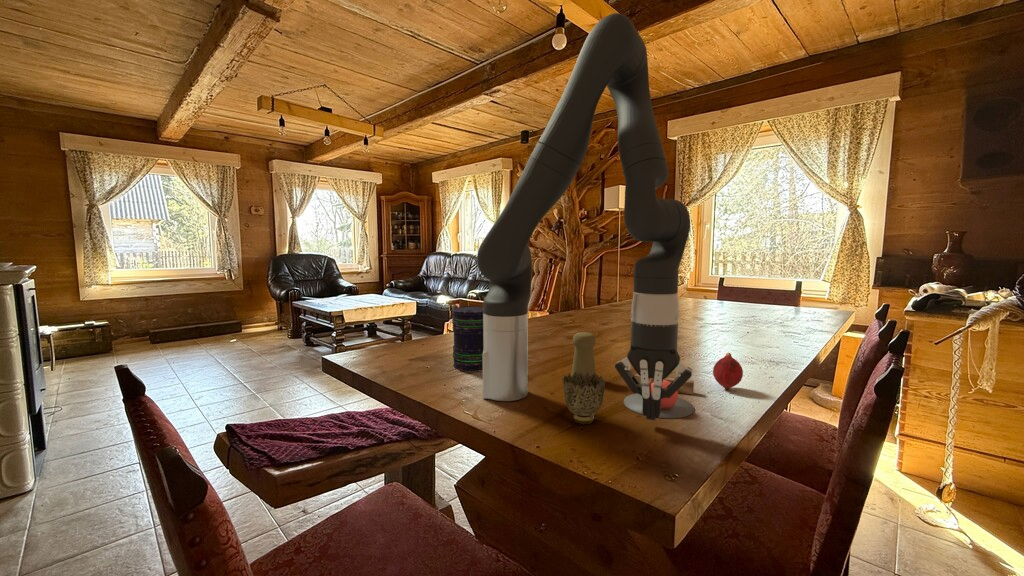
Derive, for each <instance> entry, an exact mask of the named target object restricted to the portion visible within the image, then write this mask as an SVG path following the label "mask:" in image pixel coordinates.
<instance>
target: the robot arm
mask: <svg viewBox="0 0 1024 576" xmlns="http://www.w3.org/2000/svg"><path fill="white" fill-rule="evenodd" d="M582 45H583V46H582V47H581V49H580V52H579V54H578V56H577V59H576V62H575V64H574V66H573V69H572V71H571V73H570V76H569V78H568V81H567V84H566V86H565V87H564V90H563V93H562V94H561V97H560V98H559V101H558V102H557V104H556V107H555V109H554V111H553V113H552V115H551V116H550V119H549V121H548V123H547V125H546V126H545V129H544V130H543V131H542V133H541V136H540V138H539V139H538V140H537V142H536V144H535V147H534V149H532V151H531V154H530V156H529V158H528V160H527V162H526V164H525V167H524V169H523V171H522V172H521V175H520V176H519V178H518V180H517V182H516V184H515V186H514V188H513V191H512V192H511V194H510V197H509V198H508V201H507V203H506V205H505V206H504V208H503V210H502V211H501V213H500V214H499V216H498V217H497V219H496V220H495V222H494V224H493V225H492V226H491V228H490V230H489V231H488V233H487V234H486V236H485V237H484V239H483V240H482V242H481V244H480V245H479V248H478V250H477V256H476V264H477V267H478V270H479V272H480V274H481V275H482V276H483V277H484V278H486V279H487V280H489V287H488V291H487V293H486V296H485V297H484V299H483V301H482V307H483V370H482V399H488V400H491V401H492V400H493V401H499V402H512V401H518V400H522V399H524V398H526V397H527V396H528V393H529V390H528V387H529V382H528V381H529V380H528V379H529V378H528V377H529V376H528V373H529V372H528V370H529V368H528V367H529V366H528V363H529V362H528V361H529V360H528V359H529V354H528V353H529V352H528V351H529V350H528V347H529V345H528V344H529V343H528V342H529V337H528V336H529V335H528V334H529V333H528V331H529V326H528V325H529V323H528V321H529V319H528V318H529V314H528V313H529V311H528V310H529V302H530V300H531V299H530V298H531V291H532V268H533V267H532V265H533V264H532V263H533V262H532V253H531V249H530V247H529V242H530V239H531V237H532V235H533V234H534V232H535V230H536V228H537V226H538V225H539V224H540V222H541V220H542V219H543V218H544V217H545V216H546V215H547V213H548V212H549V211H550V210H551V209H552V208H553V207H554V206H555V205H556V204H557V203H558V201H559V200H561V198H562V197H563V196H564V194H565V192H567V190H568V189H569V187H570V186H571V184H572V183H573V180H574V179H575V177H576V175H577V173H578V171H579V170H580V168H581V166H582V164H583V162H584V160H585V158H586V155H587V153H588V149H589V145H590V139H591V134H592V133H591V132H592V127H593V122H594V117H595V114H596V113H595V112H596V110H597V106H598V104H599V101H600V99H601V97H602V95H603V94H604V91H605V89H606V88H607V89H608V91H609V94H610V95H611V97H612V98H611V99H612V100H613V103H614V106H615V111H616V114H617V147H618V155H619V159H620V163H621V169H622V172H623V176H624V180H625V187H624V189H625V190H624V205H623V206H624V210H623V216H624V217H623V221H624V224H625V225H624V226H625V228H626V231H627V232H628V233H629V234H630V236H631V237H632V238H633V239H634V240H636V241H638V242H642V243H643V242H644V243H649V242H650V243H651V242H652V246H651V249H650V251H649V253H648V254H647V255H645V256H643V257H640V258H638V259H637V260H636V261H635V263H634V267H633V268H634V270H633V292H632V293H633V295H632V301H631V309H630V347H629V350H628V351H627V355H626V357H624V358H623V359H619V360H618V361H617V362H616V363H615V364H614V368H615V370H616V371H617V372H618V374H619V376H620V377H621V378H622V380H624V383H626V385H627V387H628V388H629V390H630V391H631V392H632V394H640V395H641V396H642V398H643V410H642V413H643V416H644V417H645V416H646V417H645V419H646V420H648V421H649V420H650V421H656V419H659V418H658V417H659V415H660V413H661V399H662V398H670V397H671V396H672V395H673V394H674V393H675V392H676V391H677V390H678V389H679V388H680V387H681V386H682V385H683V384H684V383H685V382H686V381H687V380H690V378H691V377H692V375H693V368H691V367H688V366H686V365H684V364H683V363H682V362H681V357H680V355H679V353H678V339H679V338H678V335H679V318H680V317H679V311H680V310H679V308H680V306H679V298H678V297H679V296H678V292H679V291H678V290H679V267H680V264H681V261H682V259H683V256H684V253H685V249H686V245H687V241H688V239H689V235H690V231H691V218H690V213H689V211H688V210H689V209H688V208H687V206H686V205H685V204H684V203H683V202H682V201H679V200H677V199H671V198H658V197H657V193H656V189H658V188H661V186H663V185H664V184H666V182H667V181H668V179H669V166H668V163H667V159H666V155H665V151H664V147H663V144H662V139H661V136H660V133H659V128H658V125H657V122H656V118H655V114H654V110H653V106H652V104H653V103H652V98H651V92H650V79H649V63H648V51H647V46H646V43H645V42H644V39H643V38H642V36H641V35H640V33H639V32H638V30H637V28H636V27H635V25H634V23H633V22H632V21H631V20H630V18H629V17H628V16H626V15H625V14H622V13H617V12H616V13H614V12H613V13H610V14H608V15H606V16H604V17H603V18H601V19H600V20H599V21H598V22H597V23H596V24H595V25H594V26H593V27H592V29H591V30H590V32H589V33H588V35H587V36H586V39H585V41H584V42H583V44H582ZM631 366H632V367H633V369H634V370H635V372H636V374H638V375H640V376H641V385H640V383H639V382H638V380H637V379H636V378H635V374H634V373H633V372H632V370H631V368H632V367H631ZM675 369H676V372H675V376H676V377H675V379H674V380H673V381H672V382H671V383H670V384H669V385H668V386H667V387H666V388H663V389H662V385H663V379H665V378H669V376H670V374H672V372H673V371H674V370H675ZM651 378H653V379H654V385H653V386H654V387H653V396H652V395H651Z"/></svg>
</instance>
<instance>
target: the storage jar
mask: <svg viewBox="0 0 1024 576" xmlns="http://www.w3.org/2000/svg"><path fill="white" fill-rule="evenodd" d="M451 325H452V332H453V346H452V351H453V352H452V358H453V359H452V361H453V364H452V365H453V367H454V368H455V369H454V370H456V369H457V370H456V371H459V370H461V371H460V372H466V371H475V372H480V371H479V370H482V371H483V306H480V305H478V306H475V305H474V306H473V305H469V306H457V307H454V308H452V322H451Z"/></svg>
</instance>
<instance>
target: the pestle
mask: <svg viewBox="0 0 1024 576" xmlns="http://www.w3.org/2000/svg"><path fill="white" fill-rule="evenodd" d="M596 341H597V340H596V336H595V335H594V334H593V333H591V332H587V331H585V332H583V331H580V332H576V333H574V335H573V337H572V344H573V346H574V352H573V358H572V359H573V360H572V367H571V374H570V375H571V376H573V375H574V373H575V372H576V373H577V374H578V373H579V372H581V373H582V374H583V375H584V376H585V374H586V373H587V372H588V373H589V374H590V375H589V376H591V375H593V374H594V373H596V374H597V371H596V362H595V354H594V353H595V352H594V346H595V345H596Z"/></svg>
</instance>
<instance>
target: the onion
mask: <svg viewBox="0 0 1024 576" xmlns="http://www.w3.org/2000/svg"><path fill="white" fill-rule="evenodd" d="M712 375H713V377H714V379H715V381H716V382H717V384H719V385H720V386H721V387H722V388H724V389H726V390H729V389H731V388H733V387H735V386H737V385H738V384H739V383H740V382H742V380H743V376H744V369H743V367H742V365H741V364H740V362H739V361H738V360H737V359H736V358H734V357H733V356H732V353H731V352H726V353H725V356H724V357H721V358H720V359H718V360H717V361H716V362H715V364H714V365H713V369H712Z"/></svg>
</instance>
